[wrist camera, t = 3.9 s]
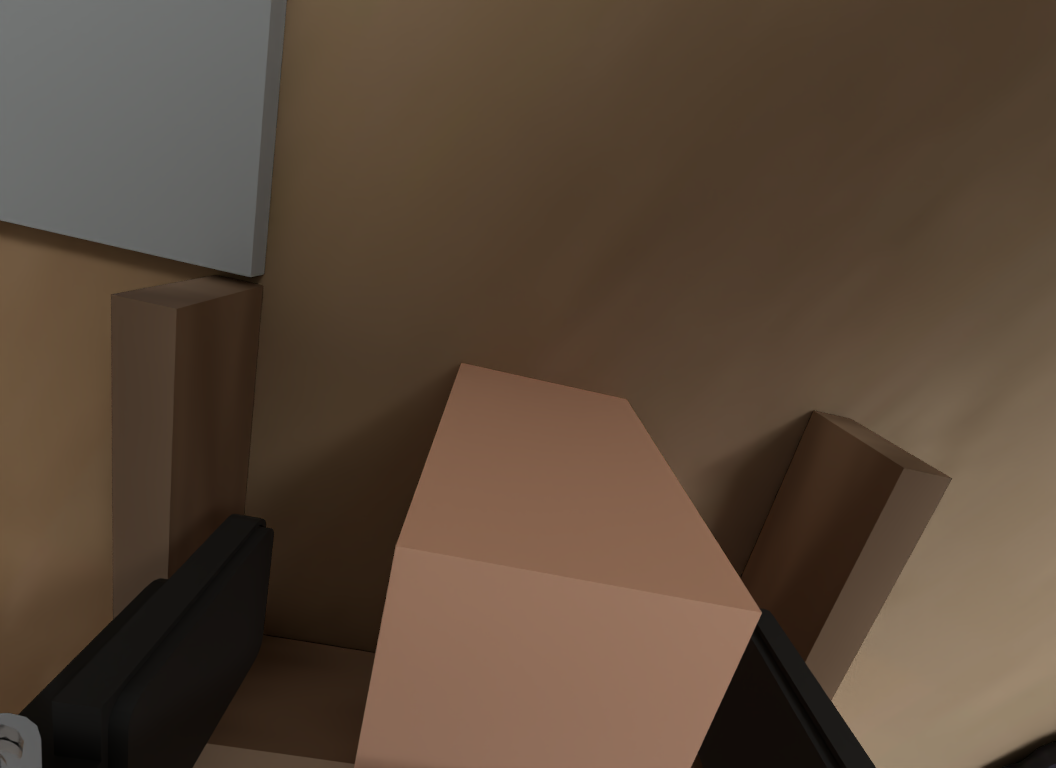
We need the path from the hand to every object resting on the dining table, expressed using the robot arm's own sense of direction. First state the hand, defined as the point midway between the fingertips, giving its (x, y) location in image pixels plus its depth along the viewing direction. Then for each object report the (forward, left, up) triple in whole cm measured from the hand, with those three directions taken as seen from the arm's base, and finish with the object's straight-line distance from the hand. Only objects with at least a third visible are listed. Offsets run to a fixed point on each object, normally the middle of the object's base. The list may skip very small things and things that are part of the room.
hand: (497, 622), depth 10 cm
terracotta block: (0, 0, -3) cm, 3 cm away
